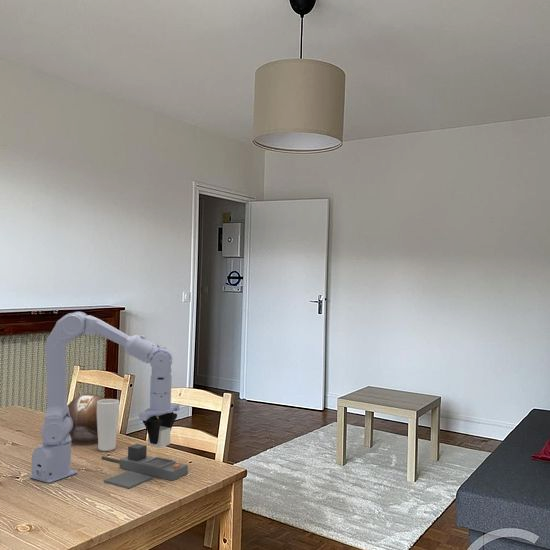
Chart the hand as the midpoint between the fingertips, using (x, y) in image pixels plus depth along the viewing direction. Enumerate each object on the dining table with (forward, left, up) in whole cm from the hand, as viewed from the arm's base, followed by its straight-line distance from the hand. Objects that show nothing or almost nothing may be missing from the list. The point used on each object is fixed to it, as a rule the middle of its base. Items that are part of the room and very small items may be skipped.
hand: (159, 441), depth 154 cm
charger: (0, 0, -1) cm, 1 cm away
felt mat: (-9, +2, -8) cm, 13 cm away
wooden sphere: (+12, +40, -9) cm, 43 cm away
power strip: (0, +7, -9) cm, 11 cm away
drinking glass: (+8, +27, -9) cm, 30 cm away
